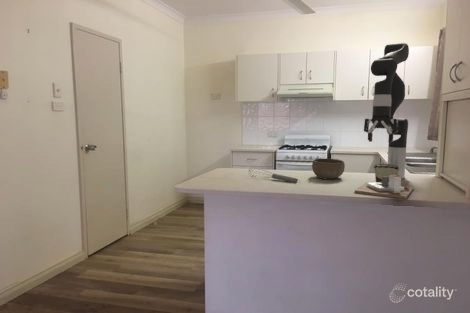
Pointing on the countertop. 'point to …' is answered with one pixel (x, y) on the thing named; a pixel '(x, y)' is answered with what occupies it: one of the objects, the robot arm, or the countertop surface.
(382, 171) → the food container
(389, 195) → the post board
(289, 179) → the kitchen whisk
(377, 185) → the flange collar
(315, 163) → the bowl
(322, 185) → the countertop surface
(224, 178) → the countertop surface
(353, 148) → the countertop surface
